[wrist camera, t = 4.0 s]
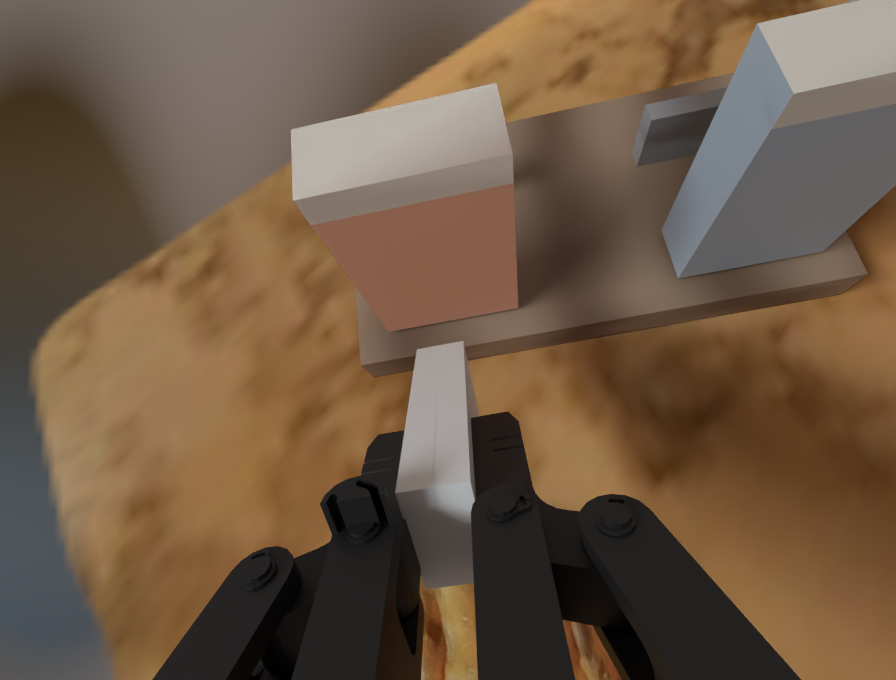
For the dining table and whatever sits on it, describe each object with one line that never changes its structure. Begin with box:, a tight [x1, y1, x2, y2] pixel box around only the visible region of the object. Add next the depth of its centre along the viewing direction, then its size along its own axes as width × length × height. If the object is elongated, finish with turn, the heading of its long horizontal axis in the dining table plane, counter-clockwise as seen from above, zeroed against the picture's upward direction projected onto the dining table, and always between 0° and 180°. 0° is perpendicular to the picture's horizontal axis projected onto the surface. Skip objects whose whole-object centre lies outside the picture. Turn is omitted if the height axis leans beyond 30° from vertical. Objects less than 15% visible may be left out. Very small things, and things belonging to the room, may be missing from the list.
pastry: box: [419, 577, 622, 680], centre depth 18 cm, size 9×7×4 cm
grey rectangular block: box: [661, 0, 896, 278], centre depth 17 cm, size 6×2×10 cm, turn 98°
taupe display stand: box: [355, 73, 868, 377], centre depth 23 cm, size 22×12×5 cm, turn 98°
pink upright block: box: [291, 83, 518, 332], centre depth 18 cm, size 6×2×10 cm, turn 98°
